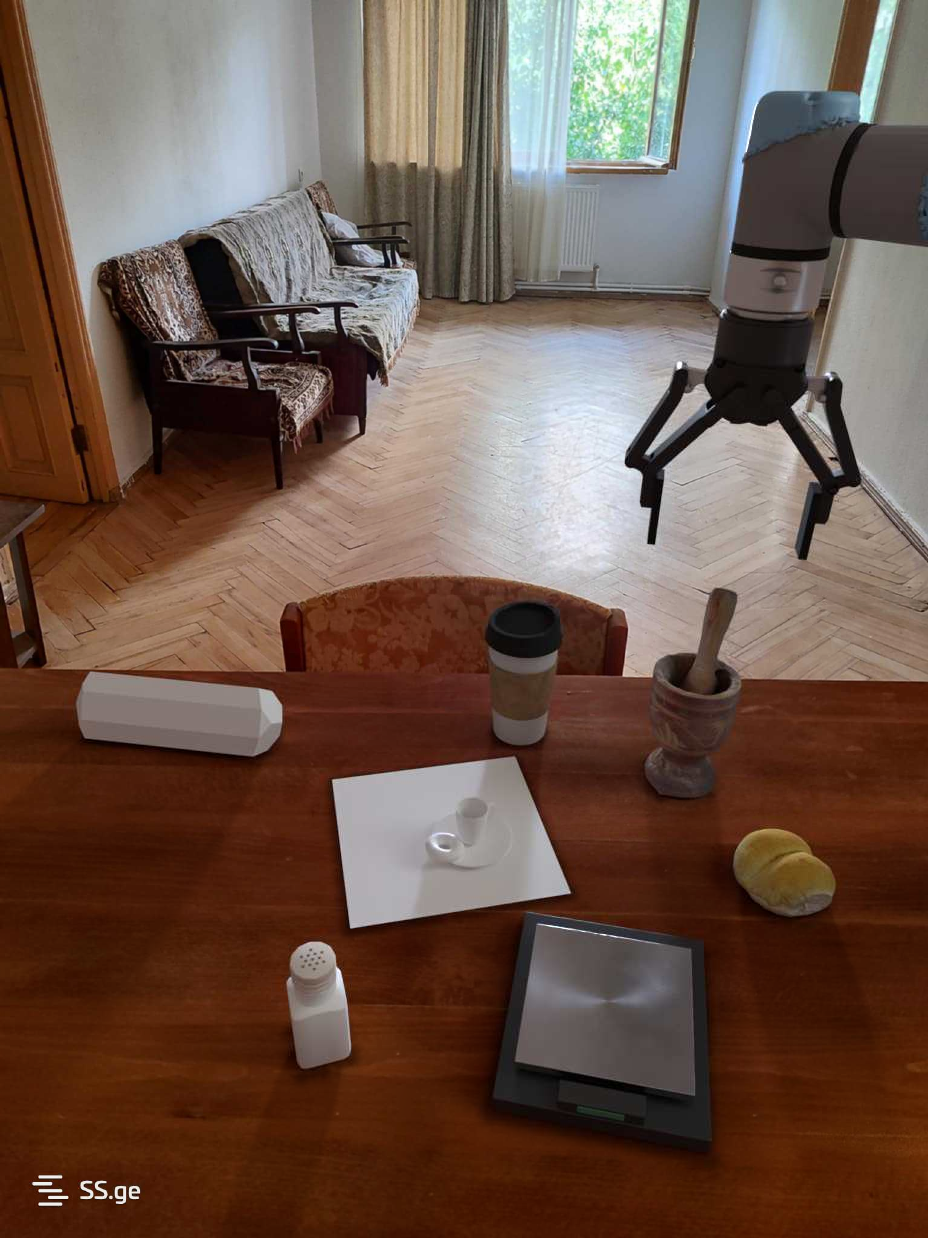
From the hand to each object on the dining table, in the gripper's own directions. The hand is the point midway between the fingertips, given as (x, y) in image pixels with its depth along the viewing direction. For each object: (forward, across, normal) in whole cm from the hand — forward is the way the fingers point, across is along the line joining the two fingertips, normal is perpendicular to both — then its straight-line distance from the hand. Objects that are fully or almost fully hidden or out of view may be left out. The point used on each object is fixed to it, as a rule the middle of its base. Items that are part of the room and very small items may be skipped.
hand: (724, 546), depth 83 cm
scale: (+26, -6, -34) cm, 43 cm away
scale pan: (+24, -6, -34) cm, 42 cm away
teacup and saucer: (+27, -23, -16) cm, 39 cm away
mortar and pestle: (+26, -1, 0) cm, 27 cm away
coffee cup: (+27, -19, +2) cm, 33 cm away
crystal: (+27, -56, -6) cm, 62 cm away
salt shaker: (+26, -27, -40) cm, 55 cm away
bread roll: (+26, +8, -16) cm, 32 cm away
